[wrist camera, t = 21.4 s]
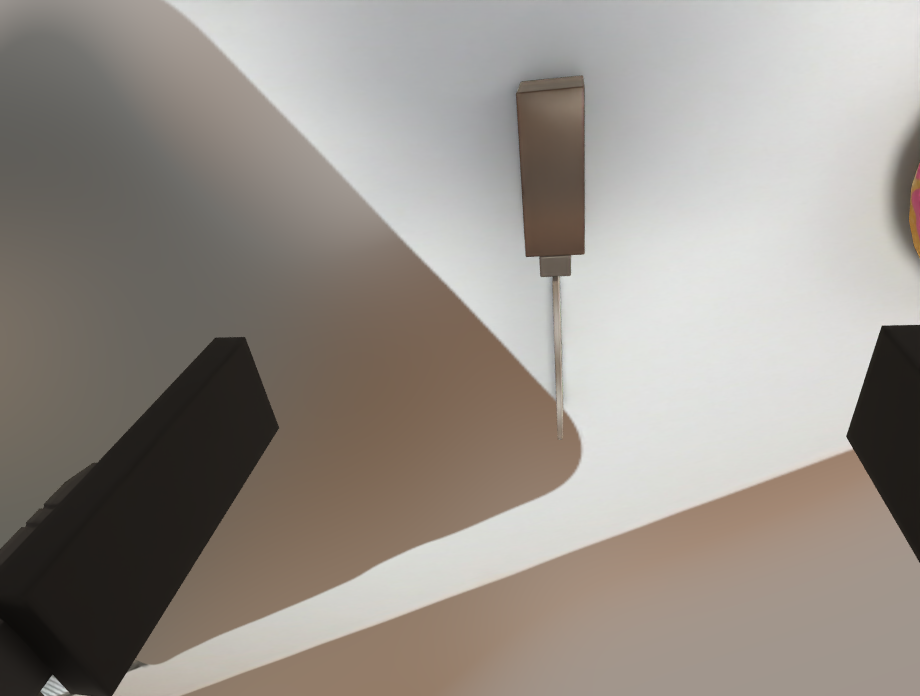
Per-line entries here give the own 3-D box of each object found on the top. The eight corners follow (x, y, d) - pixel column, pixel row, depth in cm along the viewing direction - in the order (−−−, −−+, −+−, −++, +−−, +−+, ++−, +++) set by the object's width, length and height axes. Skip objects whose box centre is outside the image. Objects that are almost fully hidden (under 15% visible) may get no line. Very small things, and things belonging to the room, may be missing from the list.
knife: (520, 81, 28) (514, 94, 25) (583, 74, 28) (584, 87, 25) (538, 404, 39) (536, 439, 36) (583, 404, 39) (584, 440, 36)
